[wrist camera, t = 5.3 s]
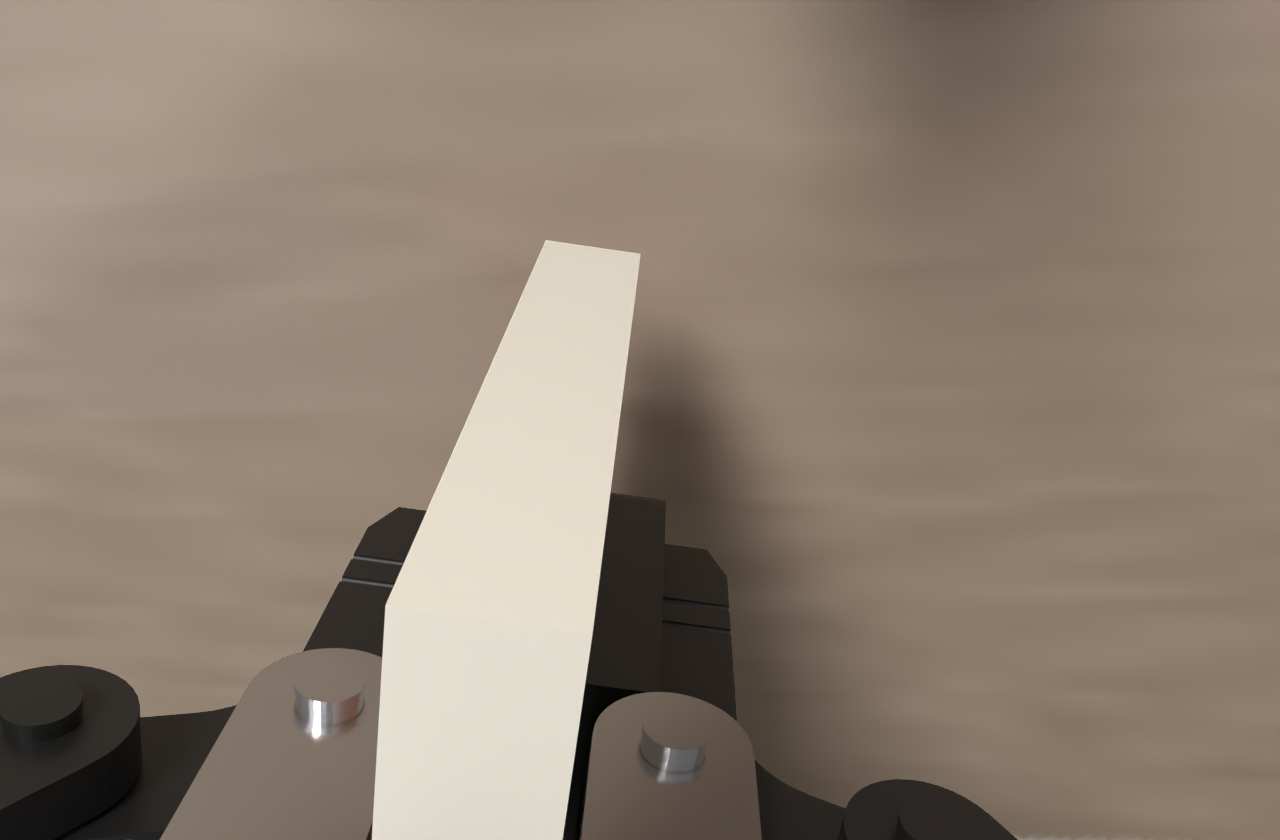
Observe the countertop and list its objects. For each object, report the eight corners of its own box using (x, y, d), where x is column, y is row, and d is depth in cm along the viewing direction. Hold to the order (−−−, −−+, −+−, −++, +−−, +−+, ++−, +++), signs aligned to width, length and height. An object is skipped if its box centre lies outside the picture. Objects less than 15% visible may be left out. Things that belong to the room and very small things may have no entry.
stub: (536, 239, 12) (364, 601, 5) (640, 253, 12) (594, 634, 5) (487, 703, 14) (328, 1339, 8) (573, 715, 14) (486, 1357, 8)
